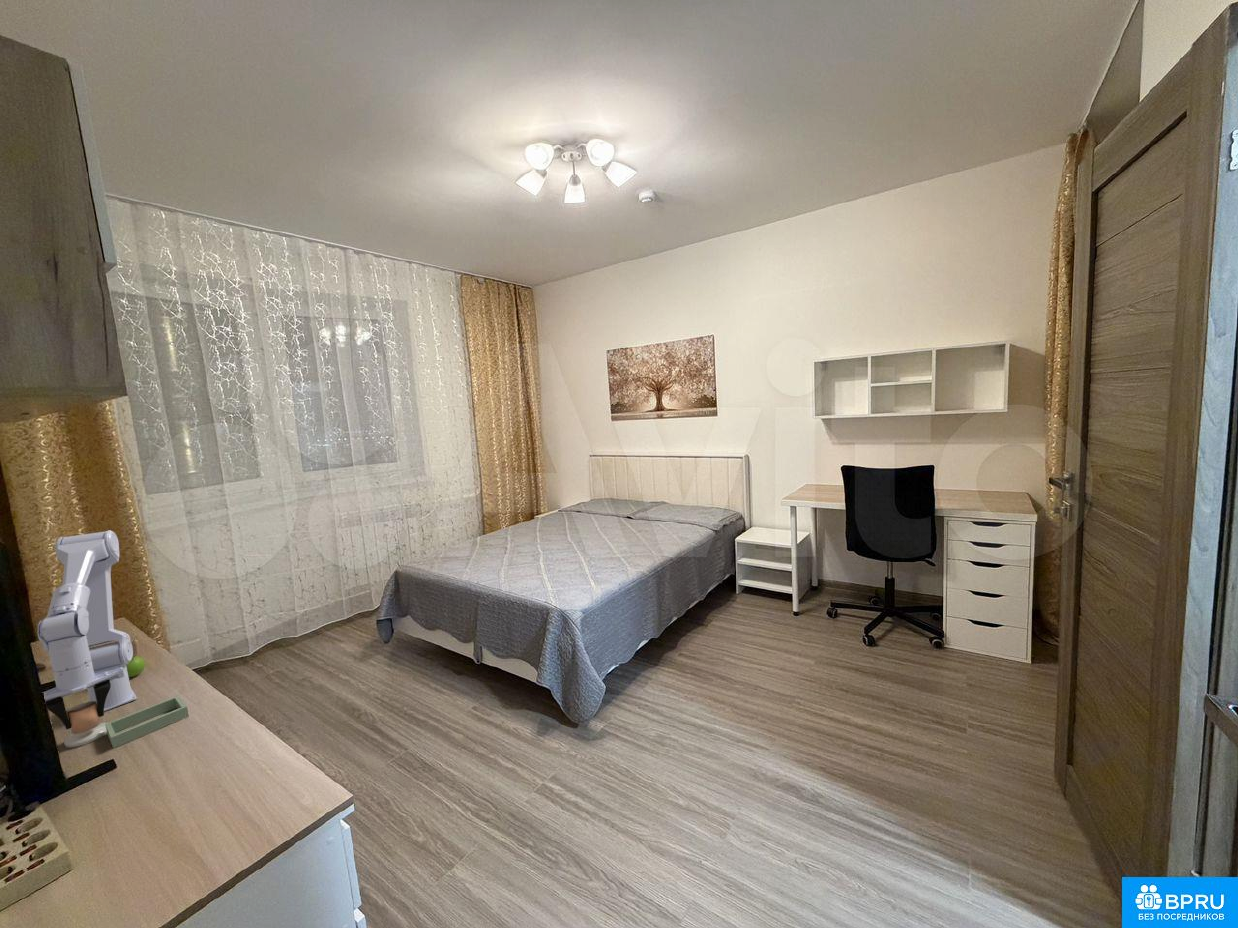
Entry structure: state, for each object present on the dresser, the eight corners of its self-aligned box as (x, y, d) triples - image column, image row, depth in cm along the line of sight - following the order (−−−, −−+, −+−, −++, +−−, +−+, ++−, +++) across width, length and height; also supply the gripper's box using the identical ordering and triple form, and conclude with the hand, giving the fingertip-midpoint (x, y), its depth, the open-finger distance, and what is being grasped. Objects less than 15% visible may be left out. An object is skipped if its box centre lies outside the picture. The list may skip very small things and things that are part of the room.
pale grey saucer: (63, 740, 108) (62, 736, 108) (108, 722, 113) (107, 718, 113) (66, 752, 104) (65, 747, 104) (112, 733, 109) (112, 729, 109)
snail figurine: (132, 681, 132) (124, 641, 130) (114, 680, 133) (106, 640, 132) (154, 671, 137) (146, 631, 136) (137, 670, 138) (129, 631, 137)
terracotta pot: (70, 730, 108) (65, 709, 107) (98, 718, 111) (93, 698, 111) (74, 736, 105) (69, 715, 105) (102, 724, 109) (98, 704, 108)
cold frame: (107, 734, 109) (105, 724, 109) (180, 704, 119) (178, 695, 119) (113, 748, 104) (111, 737, 104) (188, 716, 114) (187, 706, 114)
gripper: (21, 686, 98) (36, 746, 100) (121, 654, 110) (132, 709, 111) (20, 676, 103) (34, 734, 104) (116, 647, 114) (127, 699, 116)
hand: (84, 720), depth 108 cm, fingers closed on terracotta pot, 4 cm apart
